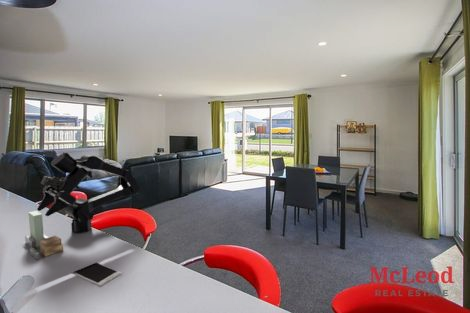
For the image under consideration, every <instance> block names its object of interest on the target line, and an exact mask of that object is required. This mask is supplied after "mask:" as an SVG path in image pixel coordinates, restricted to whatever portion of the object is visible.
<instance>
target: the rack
mask: <svg viewBox="0 0 470 313" xmlns="http://www.w3.org/2000/svg"><path fill="white" fill-rule="evenodd" d="M43 234H44V239H46V238H49V236H47V235H46V233H44V232H43ZM24 239H25V240H24V241H25V242H24V243H22V244H20V245H21V246H22V247H23V248H24V249H25V250H26V251H27V252H28V253H29V255H30V256H32V257H33V259H34V260H36V261H39V260H43V259H44V258H48V257H51V256H54V255H57V254H59V253H63V252H64V249H63V250H62V251H59V252H56V253H53V254H50V255H47V256H45V255H44V254H43V253H41V251H40V246H38V247H35V240H34V239H33V238H31V236H30V234H25V236H24Z"/></svg>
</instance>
